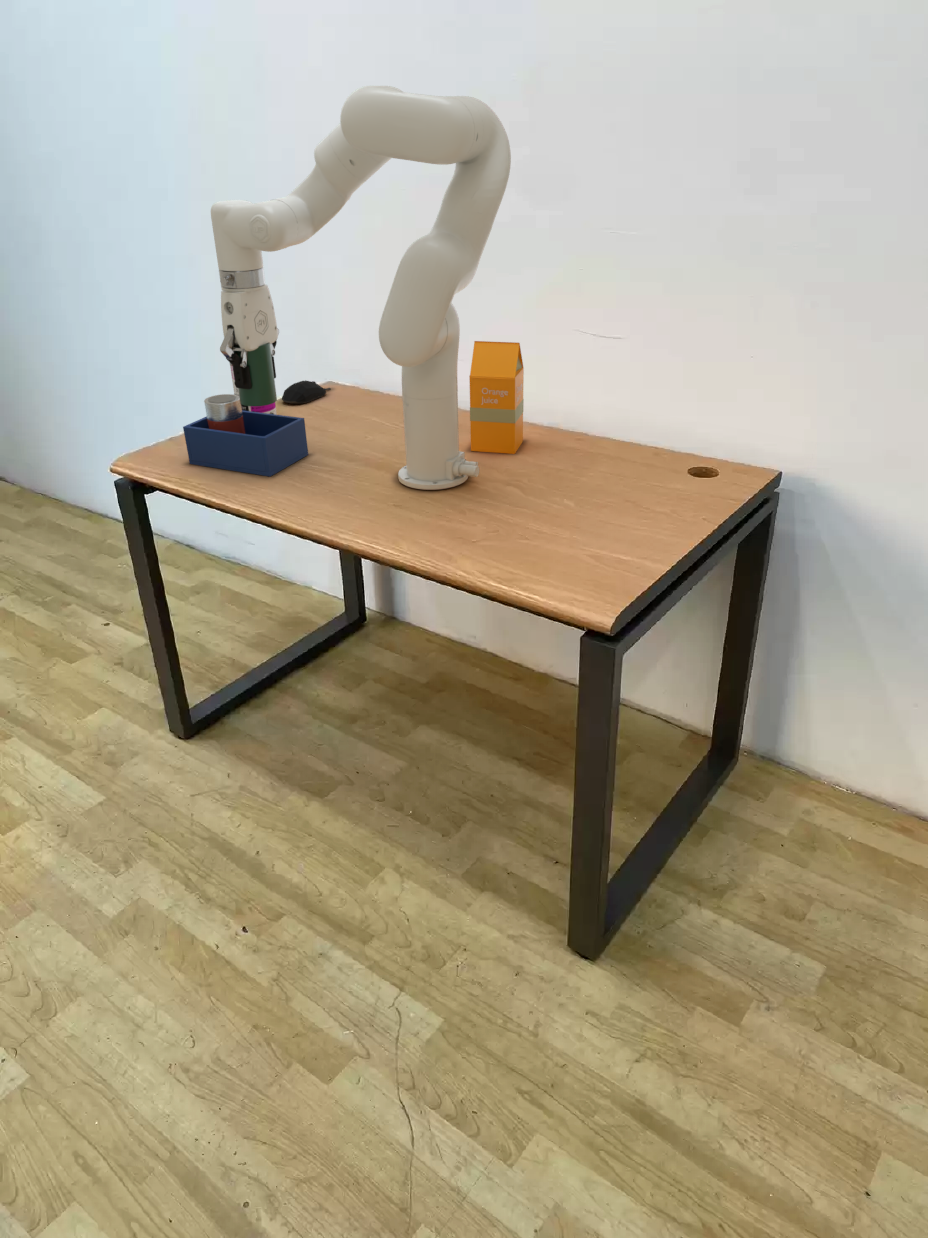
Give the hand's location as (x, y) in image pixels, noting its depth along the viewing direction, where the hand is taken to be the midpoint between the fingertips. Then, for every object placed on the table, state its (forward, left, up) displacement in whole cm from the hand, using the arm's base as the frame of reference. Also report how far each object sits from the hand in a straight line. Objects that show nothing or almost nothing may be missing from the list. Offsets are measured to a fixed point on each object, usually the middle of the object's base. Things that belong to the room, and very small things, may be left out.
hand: (256, 382), depth 164 cm
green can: (0, 0, -3) cm, 3 cm away
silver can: (+8, 0, -14) cm, 17 cm away
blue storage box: (+4, 0, -15) cm, 16 cm away
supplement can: (+17, -20, -15) cm, 30 cm away
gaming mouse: (+17, -40, -15) cm, 46 cm away
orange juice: (-37, -24, -15) cm, 47 cm away
